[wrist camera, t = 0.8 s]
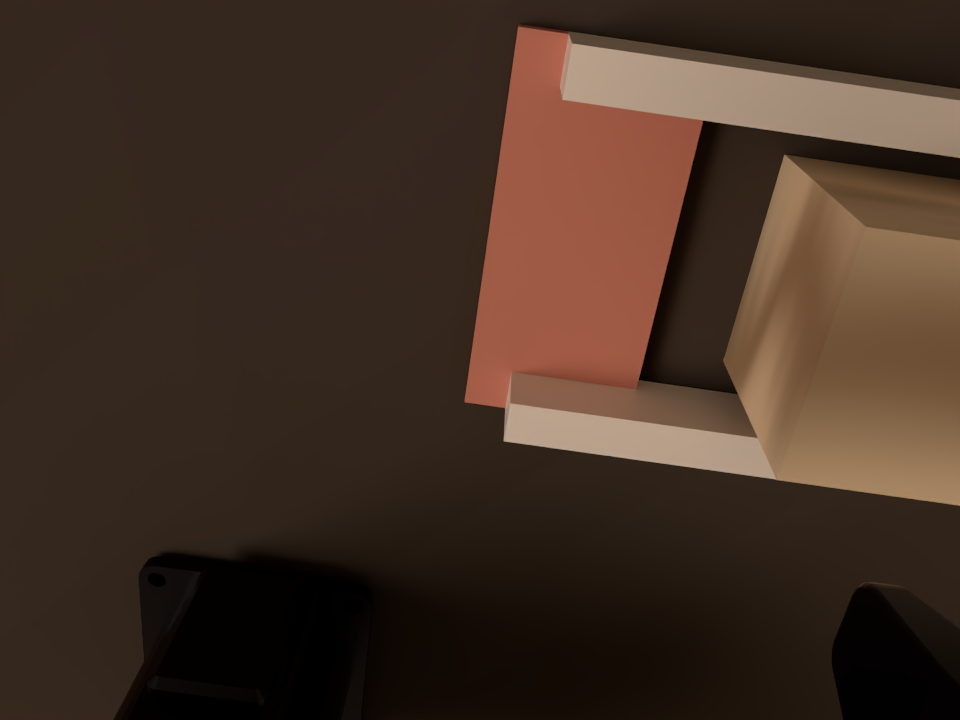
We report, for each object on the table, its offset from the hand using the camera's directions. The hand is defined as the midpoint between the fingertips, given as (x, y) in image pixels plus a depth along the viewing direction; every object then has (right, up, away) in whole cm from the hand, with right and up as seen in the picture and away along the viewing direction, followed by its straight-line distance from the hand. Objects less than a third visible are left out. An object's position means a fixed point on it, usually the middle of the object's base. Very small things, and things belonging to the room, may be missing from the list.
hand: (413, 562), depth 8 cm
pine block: (+9, +4, +11) cm, 15 cm away
